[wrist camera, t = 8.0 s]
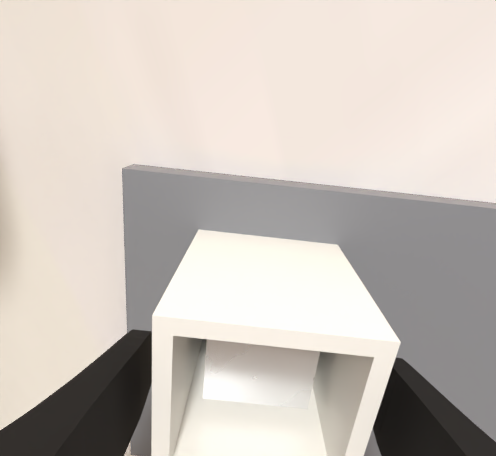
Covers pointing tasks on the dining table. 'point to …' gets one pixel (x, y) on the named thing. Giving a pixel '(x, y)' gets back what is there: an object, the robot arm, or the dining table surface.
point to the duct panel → (357, 253)
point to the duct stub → (259, 374)
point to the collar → (269, 334)
